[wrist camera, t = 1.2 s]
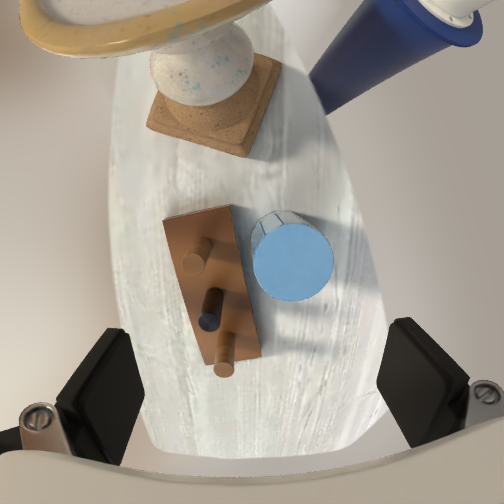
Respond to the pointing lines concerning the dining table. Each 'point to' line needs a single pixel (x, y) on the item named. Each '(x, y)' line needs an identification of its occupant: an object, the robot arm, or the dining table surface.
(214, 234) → the rack
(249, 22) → the dining table surface
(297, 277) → the cup
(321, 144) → the dining table surface
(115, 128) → the dining table surface
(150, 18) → the candle holder
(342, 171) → the dining table surface
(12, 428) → the robot arm
